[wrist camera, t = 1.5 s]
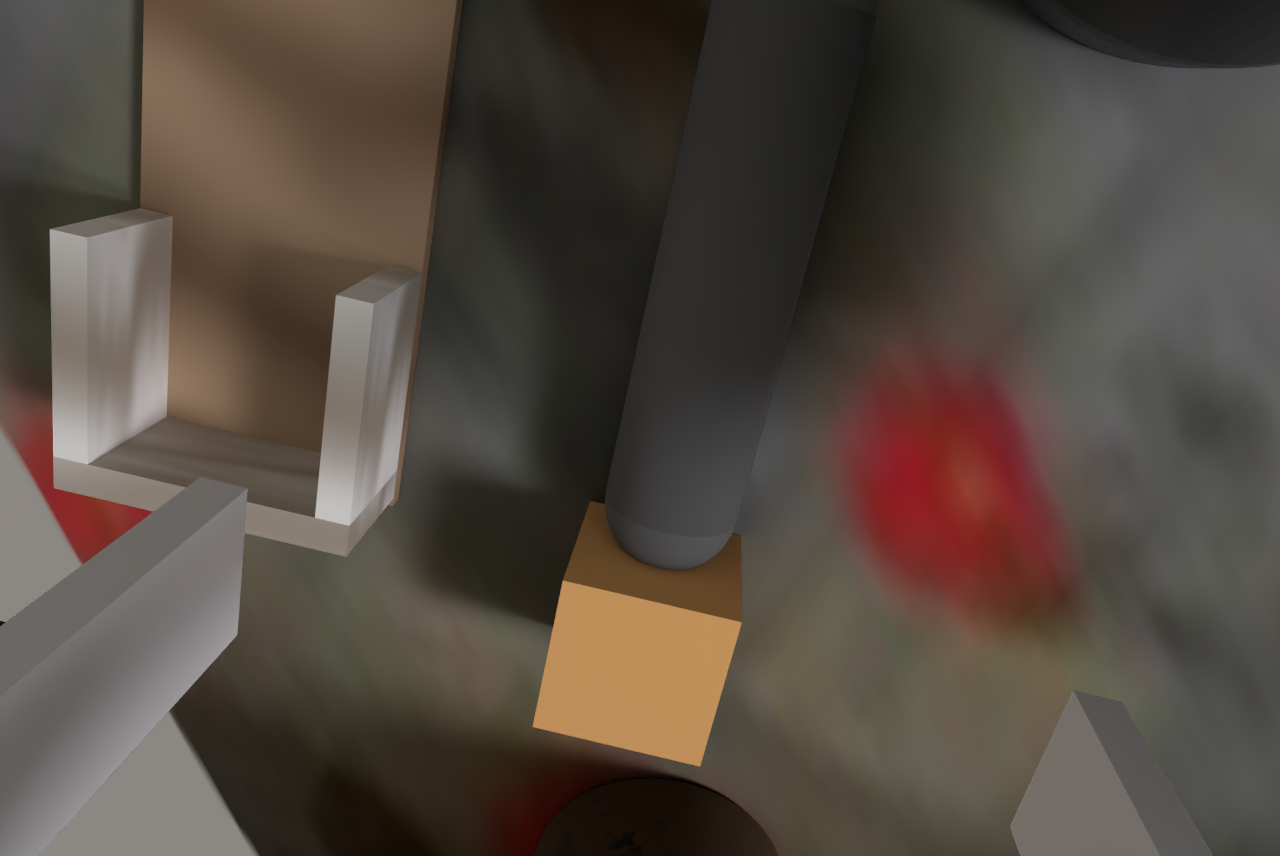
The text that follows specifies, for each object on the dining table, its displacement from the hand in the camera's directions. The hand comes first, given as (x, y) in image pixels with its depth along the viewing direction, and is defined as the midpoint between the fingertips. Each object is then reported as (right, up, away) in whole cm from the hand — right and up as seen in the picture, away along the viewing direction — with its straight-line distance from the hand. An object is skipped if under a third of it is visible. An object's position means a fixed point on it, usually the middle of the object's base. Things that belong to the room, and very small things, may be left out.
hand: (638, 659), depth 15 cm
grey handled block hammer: (+2, +6, +14) cm, 15 cm away
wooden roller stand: (-9, +14, +12) cm, 21 cm away
